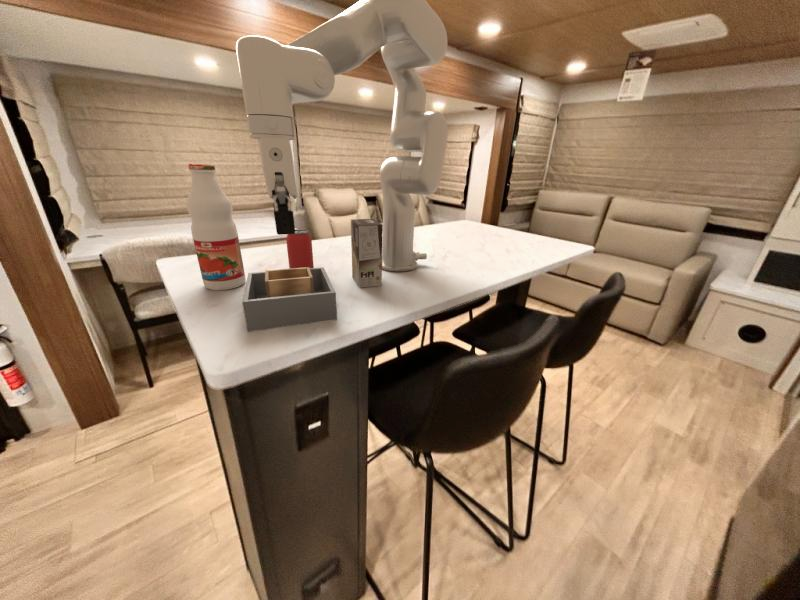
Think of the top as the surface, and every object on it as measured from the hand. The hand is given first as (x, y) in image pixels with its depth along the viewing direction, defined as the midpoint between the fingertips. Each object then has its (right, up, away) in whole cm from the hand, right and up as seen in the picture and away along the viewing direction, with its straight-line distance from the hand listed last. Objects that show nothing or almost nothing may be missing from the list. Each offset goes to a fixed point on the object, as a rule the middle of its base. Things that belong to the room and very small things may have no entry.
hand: (285, 228), depth 61 cm
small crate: (-1, -15, +6) cm, 16 cm away
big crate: (-1, -16, +6) cm, 17 cm away
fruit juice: (-22, -10, +18) cm, 30 cm away
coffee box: (+13, -9, +24) cm, 29 cm away
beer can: (-5, -7, +27) cm, 29 cm away
